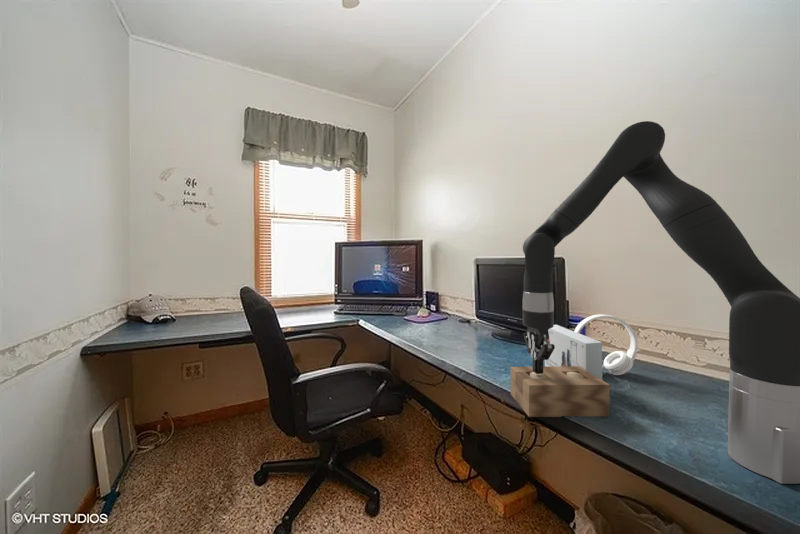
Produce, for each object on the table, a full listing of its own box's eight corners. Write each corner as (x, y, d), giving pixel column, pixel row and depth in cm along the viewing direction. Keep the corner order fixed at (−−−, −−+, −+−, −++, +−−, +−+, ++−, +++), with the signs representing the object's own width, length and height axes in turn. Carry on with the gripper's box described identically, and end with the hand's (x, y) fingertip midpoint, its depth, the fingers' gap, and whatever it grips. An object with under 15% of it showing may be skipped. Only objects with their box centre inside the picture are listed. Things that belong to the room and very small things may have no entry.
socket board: (579, 393, 83) (579, 366, 83) (609, 416, 71) (609, 384, 71) (510, 393, 83) (510, 366, 83) (528, 416, 71) (529, 385, 71)
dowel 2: (586, 407, 75) (586, 377, 75) (571, 407, 75) (571, 377, 75) (577, 400, 79) (577, 371, 79) (563, 400, 79) (563, 372, 79)
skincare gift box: (542, 369, 101) (543, 324, 101) (557, 368, 102) (557, 324, 101) (585, 398, 80) (586, 342, 80) (603, 397, 81) (604, 341, 80)
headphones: (642, 380, 91) (643, 318, 91) (578, 376, 95) (578, 316, 94) (627, 370, 99) (628, 313, 98) (569, 367, 103) (569, 312, 102)
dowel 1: (548, 407, 75) (548, 378, 75) (533, 407, 75) (533, 378, 75) (541, 400, 79) (541, 372, 79) (527, 400, 79) (527, 372, 79)
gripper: (566, 313, 70) (566, 383, 70) (539, 304, 83) (539, 363, 83) (535, 313, 70) (535, 383, 70) (513, 304, 83) (514, 363, 83)
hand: (537, 372), depth 77 cm, fingers closed
